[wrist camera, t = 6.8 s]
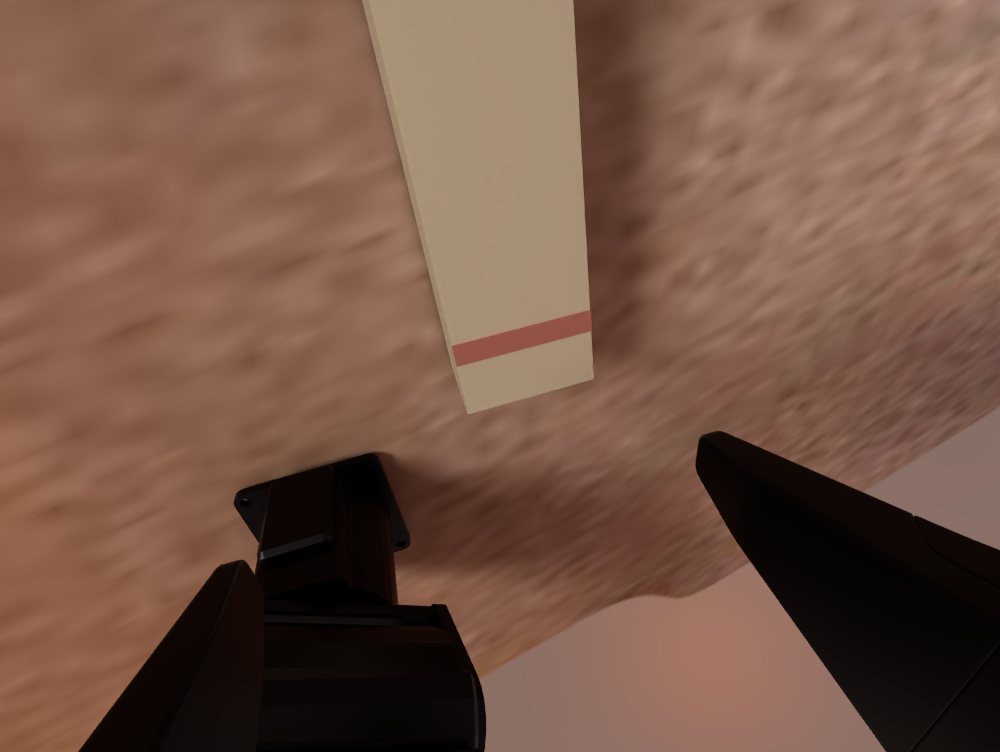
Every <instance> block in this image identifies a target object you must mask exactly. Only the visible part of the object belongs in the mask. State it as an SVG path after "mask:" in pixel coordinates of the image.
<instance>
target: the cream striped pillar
mask: <svg viewBox="0 0 1000 752" xmlns="http://www.w3.org/2000/svg"><path fill="white" fill-rule="evenodd" d="M362 2H363V6H364V11H365V15H366V19H367V23H368V27H369V31H370V35H371V39H372V43H373V47H374V51H375V55H376V59H377V63H378V68H379V72H380V76H381V80H382V84H383V88H384V92H385V96H386V100H387V104H388V108H389V112H390V116H391V120H392V125H393V129H394V133H395V137H396V141H397V145H398V149H399V153H400V157H401V161H402V165H403V169H404V173H405V177H406V182H407V186H408V190H409V194H410V198H411V202H412V206H413V210H414V214H415V218H416V222H417V226H418V230H419V234H420V239H421V243H422V247H423V251H424V255H425V259H426V263H427V267H428V271H429V275H430V279H431V283H432V287H433V291H434V296H435V300H436V304H437V308H438V312H439V316H440V320H441V324H442V328H443V332H444V336H445V340H446V344H447V348H448V353H449V357H450V361H451V365H452V368H453V371H454V374H455V377H456V380H457V383H458V386H459V389H460V392H461V395H462V398H463V401H464V404H465V407H466V410H467V413H468V414H471V413H475V412H478V411H482V410H486V409H489V408H493V407H496V406H500V405H503V404H507V403H511V402H514V401H518V400H521V399H525V398H528V397H532V396H536V395H539V394H543V393H546V392H550V391H553V390H557V389H561V388H564V387H568V386H571V385H575V384H578V383H582V382H586V381H589V380H593V379H594V374H593V356H592V337H591V331H592V318H591V310H590V300H589V282H588V263H587V245H586V226H585V208H584V189H583V171H582V152H581V134H580V115H579V97H578V78H577V60H576V41H575V23H574V4H573V0H362Z"/></svg>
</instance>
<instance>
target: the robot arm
mask: <svg viewBox="0 0 1000 752" xmlns="http://www.w3.org/2000/svg"><path fill="white" fill-rule="evenodd" d="M366 464H374V465H372V466H365V465H366ZM695 465H696V471H697V474H698V476H699V478H700V480H701V481H702V483H703V485H704V487H705V488H706V490H707V492H708V494H709V495H710V497H711V499H712V501H713V502H714V504H715V506H716V508H717V509H718V511H719V513H720V515H721V517H722V518H723V520H724V522H725V524H726V525H727V527H728V529H729V530H730V532H731V534H732V535H733V537H734V539H735V540H736V542H737V543H738V545H739V546H740V548H741V549H742V550H743V552H744V553H745V555H746V556H747V557H748V559H749V560H750V562H751V563H752V564H753V566H754V567H755V569H756V570H757V571H758V573H759V574H760V576H761V577H762V578H763V580H764V581H765V583H766V584H767V585H768V587H769V588H770V590H771V591H772V592H773V594H774V595H775V596H776V598H777V599H778V601H779V602H780V604H781V605H782V606H783V608H784V609H785V611H786V612H787V613H788V614H789V616H790V618H791V619H792V620H793V622H794V623H795V624H796V626H797V627H798V629H799V630H800V632H801V633H802V634H803V636H804V637H805V639H806V640H807V641H808V643H809V644H810V646H811V647H812V648H813V650H814V651H815V653H816V654H817V655H818V657H819V658H820V660H821V661H822V662H823V664H824V665H825V667H826V668H827V669H828V671H829V672H830V674H831V675H832V676H833V678H834V679H835V681H836V682H837V683H838V685H839V686H840V688H841V689H842V690H843V692H844V693H845V694H846V696H847V698H848V699H849V700H850V702H851V703H852V704H853V706H854V707H855V709H856V710H857V712H858V713H859V714H860V716H861V717H862V719H863V720H864V721H865V723H866V724H867V726H868V727H869V728H870V730H871V731H872V732H873V734H874V735H875V737H876V738H877V740H878V741H879V742H880V744H881V745H882V746H883V748H884V749H885V751H886V752H1000V550H998V549H996V548H993V547H991V546H988V545H985V544H983V543H980V542H978V541H975V540H973V539H970V538H968V537H966V536H963V535H961V534H958V533H956V532H954V531H951V530H949V529H947V528H944V527H942V526H939V525H937V524H935V523H932V522H930V521H928V520H925V519H923V518H921V517H918V516H914V517H913V515H912V514H911V513H909V512H907V511H905V510H902V509H900V508H898V507H895V506H893V505H891V504H888V503H886V502H884V501H881V500H879V499H877V498H875V497H872V496H870V495H868V494H865V493H863V492H861V491H859V490H856V489H854V488H852V487H849V486H847V485H845V484H843V483H840V482H838V481H836V480H833V479H831V478H829V477H826V476H824V475H822V474H820V473H817V472H815V471H813V470H810V469H808V468H806V467H803V466H801V465H799V464H797V463H794V462H792V461H790V460H787V459H785V458H783V457H780V456H778V455H776V454H774V453H771V452H769V451H767V450H764V449H762V448H760V447H757V446H755V445H753V444H751V443H748V442H746V441H744V440H741V439H739V438H737V437H734V436H732V435H730V434H728V433H725V432H722V431H715V432H711V433H707V434H704V435H702V436H701V437H700V438H699V443H698V449H697V456H696V464H695ZM243 499H249V500H250V501H245V500H243ZM234 506H235V508H236V509H237V511H238V512H239V514H240V515H241V517H242V518H243V520H244V521H245V523H246V524H247V526H248V527H249V529H250V530H251V532H252V533H253V535H254V536H255V538H256V539H257V541H258V542H259V546H258V552H257V563H256V569H255V575H254V573H253V571H252V570H251V568H250V567H249V565H248V564H247V562H246V561H244V560H237V561H233V562H229V563H226V564H222V565H220V566H219V567H217V568H216V569H215V571H214V572H213V573H212V575H211V576H210V577H209V579H208V580H207V581H206V583H205V584H204V585H203V587H202V588H201V589H200V591H199V592H198V593H197V595H196V596H195V597H194V599H193V600H192V601H191V603H190V604H189V605H188V606H187V608H186V609H185V610H184V612H183V613H182V614H181V616H180V617H179V618H178V620H177V621H176V622H175V624H174V625H173V626H172V628H171V629H170V630H169V632H168V633H167V634H166V636H165V637H164V638H163V640H162V641H161V642H160V644H159V645H158V646H157V648H156V649H155V650H154V652H153V653H152V654H151V656H150V657H149V658H148V660H147V661H146V662H145V664H144V665H143V666H142V668H141V669H140V670H139V672H138V673H137V674H136V676H135V677H134V678H133V680H132V681H131V682H130V684H129V685H128V686H127V687H126V689H125V690H124V691H123V693H122V694H121V695H120V697H119V698H118V699H117V701H116V702H115V703H114V705H113V706H112V707H111V709H110V710H109V711H108V713H107V714H106V715H105V717H104V718H103V719H102V721H101V722H100V723H99V725H98V726H97V727H96V729H95V730H94V731H93V733H92V734H91V735H90V737H89V738H88V739H87V741H86V742H85V743H84V745H83V746H82V747H81V749H80V750H79V751H78V752H484V750H485V739H486V713H485V703H484V697H483V692H482V687H481V684H480V681H479V678H478V675H477V673H476V671H475V669H474V666H473V664H472V662H471V660H470V657H469V655H468V653H467V651H466V648H465V646H464V644H463V642H462V640H461V637H460V635H459V633H458V631H457V628H456V626H455V624H454V622H453V619H452V617H451V615H450V613H449V611H448V608H447V606H446V605H445V604H432V606H416V605H398V595H397V585H396V574H395V563H394V552H397V551H400V550H403V549H406V548H407V547H408V546H409V545H410V535H409V532H408V530H407V527H406V524H405V522H404V519H403V517H402V514H401V512H400V509H399V507H398V504H397V502H396V499H395V496H394V494H393V491H392V489H391V486H390V484H389V481H388V479H387V476H386V474H385V471H384V468H383V466H382V463H381V461H380V459H379V457H378V456H376V455H375V454H365V455H362V456H358V457H354V458H351V459H347V460H344V461H340V462H337V463H333V464H330V465H326V466H323V467H319V468H316V469H312V470H309V471H305V472H301V473H298V474H294V475H291V476H287V477H284V478H280V479H277V480H273V481H270V482H266V483H263V484H259V485H256V486H252V487H248V488H245V489H242V490H240V491H238V492H237V493H236V496H235V500H234ZM399 540H402V541H399Z"/></svg>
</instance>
